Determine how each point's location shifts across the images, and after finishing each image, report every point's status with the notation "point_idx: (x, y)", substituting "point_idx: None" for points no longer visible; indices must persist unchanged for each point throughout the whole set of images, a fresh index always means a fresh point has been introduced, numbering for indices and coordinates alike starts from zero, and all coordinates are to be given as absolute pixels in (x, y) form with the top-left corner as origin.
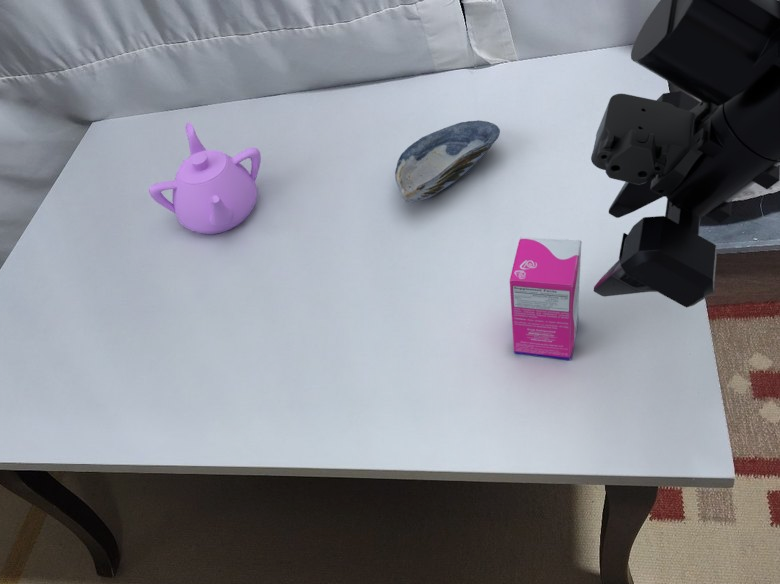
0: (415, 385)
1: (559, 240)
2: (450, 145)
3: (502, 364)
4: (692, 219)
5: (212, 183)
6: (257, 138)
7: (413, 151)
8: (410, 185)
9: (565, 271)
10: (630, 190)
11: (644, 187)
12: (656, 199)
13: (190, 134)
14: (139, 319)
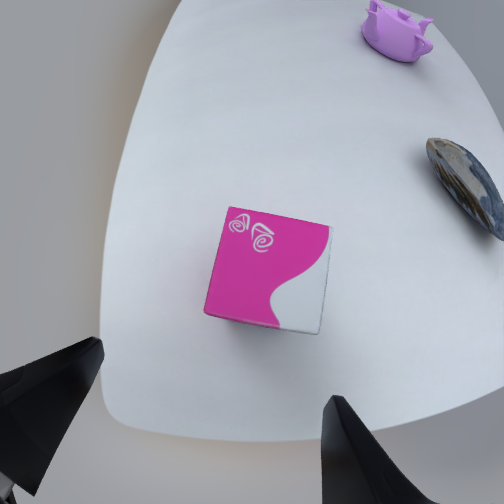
0: (201, 160)
1: (321, 295)
2: (487, 200)
3: None
4: None
5: (390, 19)
6: (453, 77)
7: (475, 164)
8: (445, 158)
9: (238, 302)
10: (347, 460)
11: (344, 489)
12: (322, 494)
13: (425, 19)
14: (282, 11)
